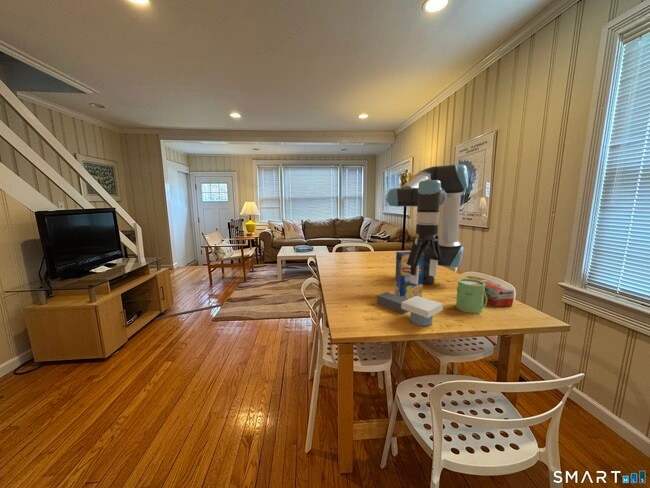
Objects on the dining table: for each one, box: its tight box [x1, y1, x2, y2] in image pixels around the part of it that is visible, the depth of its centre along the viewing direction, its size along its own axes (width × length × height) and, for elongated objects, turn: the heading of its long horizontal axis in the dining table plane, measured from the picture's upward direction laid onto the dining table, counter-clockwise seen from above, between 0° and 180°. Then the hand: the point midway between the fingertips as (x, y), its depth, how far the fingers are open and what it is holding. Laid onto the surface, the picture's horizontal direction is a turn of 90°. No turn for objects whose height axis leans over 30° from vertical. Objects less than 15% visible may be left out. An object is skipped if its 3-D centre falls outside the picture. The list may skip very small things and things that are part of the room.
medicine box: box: [478, 279, 515, 308], centre depth 119 cm, size 15×8×8 cm, turn 8°
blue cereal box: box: [394, 251, 424, 299], centre depth 123 cm, size 7×11×22 cm, turn 96°
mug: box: [455, 278, 488, 314], centre depth 109 cm, size 13×10×12 cm
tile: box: [401, 296, 444, 318], centre depth 98 cm, size 11×11×2 cm
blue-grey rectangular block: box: [376, 291, 410, 315], centre depth 112 cm, size 7×14×4 cm, turn 40°
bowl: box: [409, 312, 434, 327], centre depth 98 cm, size 8×8×5 cm
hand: (423, 279), depth 96 cm, fingers open, 13 cm apart
